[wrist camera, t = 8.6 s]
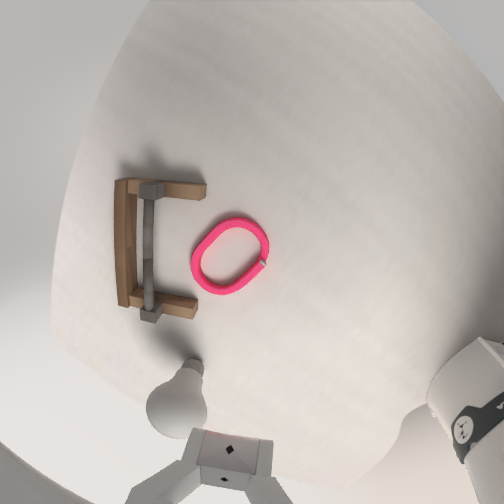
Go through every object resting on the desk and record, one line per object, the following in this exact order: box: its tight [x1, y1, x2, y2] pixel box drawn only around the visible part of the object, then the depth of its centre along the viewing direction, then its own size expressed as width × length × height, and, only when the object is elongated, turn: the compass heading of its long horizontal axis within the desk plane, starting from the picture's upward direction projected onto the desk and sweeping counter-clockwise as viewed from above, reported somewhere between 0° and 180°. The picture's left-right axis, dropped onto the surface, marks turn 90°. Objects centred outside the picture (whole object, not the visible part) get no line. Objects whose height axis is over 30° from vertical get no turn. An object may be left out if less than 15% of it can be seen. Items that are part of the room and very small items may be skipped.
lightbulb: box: [146, 359, 207, 439], centre depth 26 cm, size 6×6×11 cm
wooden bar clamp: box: [114, 178, 207, 323], centre depth 25 cm, size 8×13×4 cm, turn 173°
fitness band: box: [191, 217, 269, 295], centre depth 27 cm, size 8×6×2 cm
